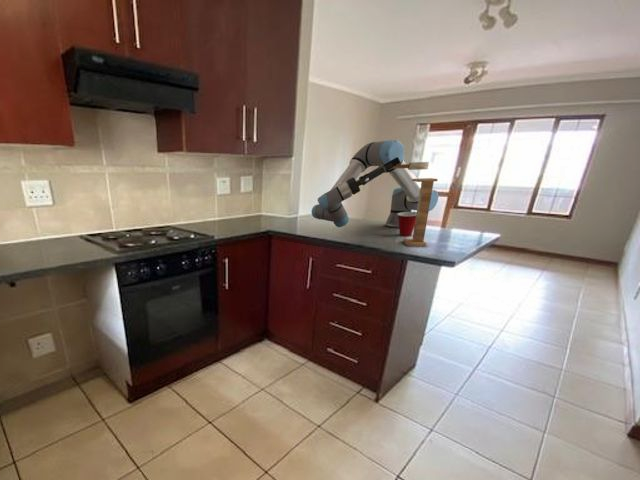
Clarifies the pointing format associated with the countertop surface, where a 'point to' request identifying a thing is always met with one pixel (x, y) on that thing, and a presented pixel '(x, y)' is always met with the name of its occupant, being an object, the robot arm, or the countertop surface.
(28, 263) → the countertop surface
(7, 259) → the countertop surface
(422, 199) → the stand
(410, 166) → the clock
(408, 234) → the plastic cup
